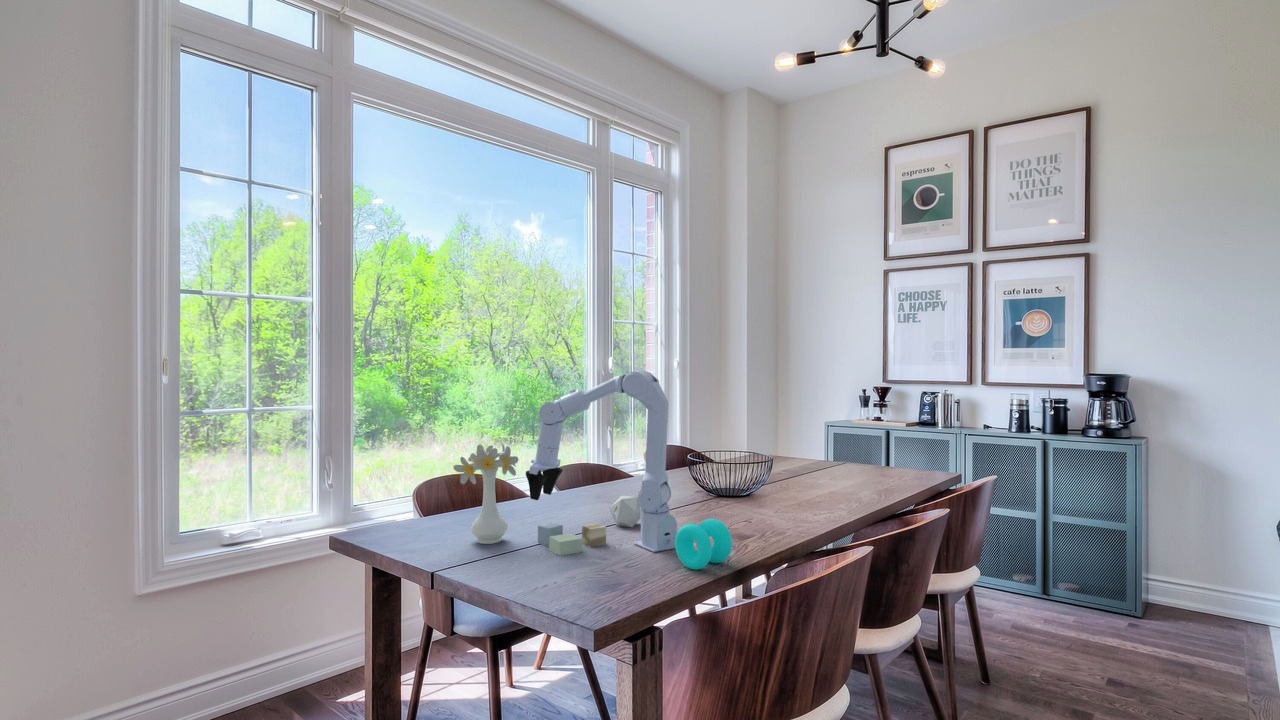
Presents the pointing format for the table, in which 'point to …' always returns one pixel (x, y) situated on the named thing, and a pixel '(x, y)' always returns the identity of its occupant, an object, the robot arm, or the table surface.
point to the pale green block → (565, 544)
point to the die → (626, 511)
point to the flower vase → (488, 490)
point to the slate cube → (548, 532)
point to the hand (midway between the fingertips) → (540, 496)
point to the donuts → (703, 543)
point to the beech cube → (593, 535)
